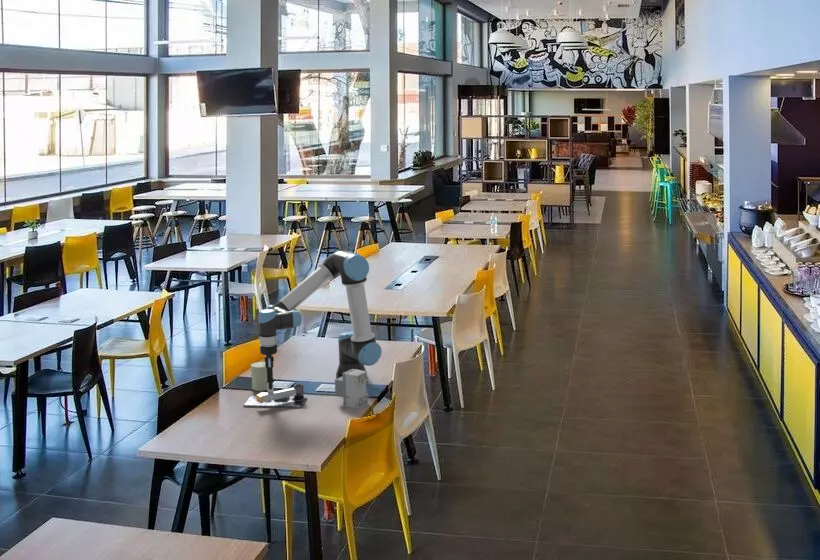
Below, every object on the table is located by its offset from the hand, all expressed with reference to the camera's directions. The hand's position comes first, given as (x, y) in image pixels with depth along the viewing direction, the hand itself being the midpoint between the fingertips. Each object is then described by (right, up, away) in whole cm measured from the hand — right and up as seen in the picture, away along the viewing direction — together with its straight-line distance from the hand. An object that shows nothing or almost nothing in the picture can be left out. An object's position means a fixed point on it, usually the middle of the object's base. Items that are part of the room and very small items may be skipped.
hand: (270, 395), depth 419 cm
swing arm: (+5, -3, +1) cm, 5 cm away
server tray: (+2, -4, +3) cm, 5 cm away
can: (-8, 0, +25) cm, 26 cm away
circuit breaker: (+36, -4, +1) cm, 36 cm away
